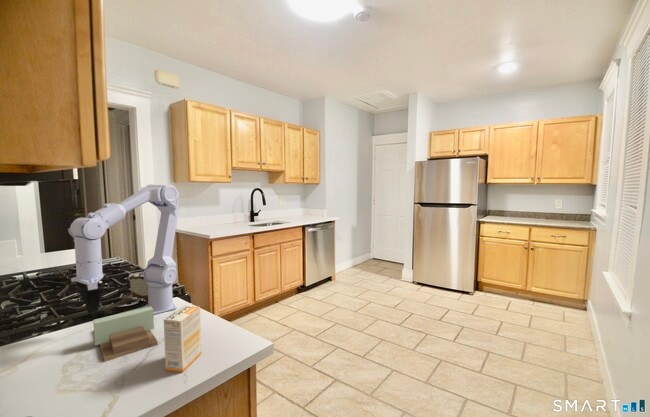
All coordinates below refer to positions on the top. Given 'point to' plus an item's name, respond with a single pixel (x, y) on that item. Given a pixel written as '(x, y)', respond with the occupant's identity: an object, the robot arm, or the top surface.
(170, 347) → the supplement box
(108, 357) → the slotted plank
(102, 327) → the sage block
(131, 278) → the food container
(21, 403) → the top surface
